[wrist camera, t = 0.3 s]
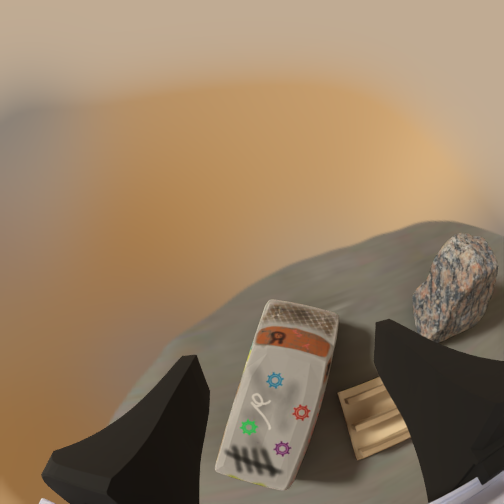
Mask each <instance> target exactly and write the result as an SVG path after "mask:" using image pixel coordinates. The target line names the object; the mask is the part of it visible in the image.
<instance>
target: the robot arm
mask: <svg viewBox="0 0 504 504" xmlns="http://www.w3.org/2000/svg"><path fill="white" fill-rule="evenodd" d="M374 363H375V366H376V368H377V371H378V373H379V376H380V378H381V381H382V382H383V384H384V386H385V388H386V390H387V391H388V393H389V395H390V397H391V398H392V400H393V402H394V404H395V405H396V407H397V409H398V411H399V412H400V414H401V416H402V418H403V420H404V422H405V424H406V426H407V428H408V431H409V433H410V436H411V439H412V441H413V444H414V447H415V450H416V453H417V456H418V459H419V463H420V466H421V470H422V474H423V478H424V482H425V487H426V492H427V497H428V504H504V361H498V360H491V359H486V358H481V357H477V356H473V355H469V354H466V353H463V352H459V351H456V350H454V349H451V348H448V347H446V346H443V345H441V344H439V343H436V342H434V341H432V340H430V339H428V338H426V337H424V336H422V335H420V334H418V333H416V332H414V331H412V330H410V329H408V328H406V327H405V326H403V325H401V324H399V323H397V322H395V321H393V320H390V319H387V320H383V321H379V322H376V329H375V350H374ZM209 403H210V390H209V387H208V385H207V382H206V380H205V377H204V374H203V372H202V369H201V366H200V363H199V361H198V358H197V355H189V356H182V357H181V358H180V359H179V360H178V361H177V362H176V363H175V365H174V366H173V367H172V368H171V369H170V370H169V371H168V373H167V374H166V375H165V376H164V377H163V378H162V379H161V380H160V382H159V383H158V384H157V385H156V386H155V387H154V388H153V389H152V390H151V391H150V392H149V393H148V394H147V395H146V396H145V397H144V398H143V399H142V400H141V401H140V402H139V403H138V404H137V405H136V406H134V407H133V408H132V409H131V410H130V411H128V412H127V413H126V414H125V415H123V416H122V417H121V418H119V419H118V420H117V421H115V422H113V423H112V424H110V425H109V426H107V427H106V428H104V429H103V430H101V431H100V432H98V433H96V434H94V435H92V436H90V437H88V438H86V439H84V440H82V441H80V442H77V443H75V444H72V445H70V446H67V447H64V448H62V449H59V450H56V451H53V453H52V455H51V457H50V459H49V461H48V463H47V465H46V467H45V469H44V470H43V472H42V474H41V475H42V478H43V480H44V482H45V483H46V484H47V485H48V486H49V487H50V488H51V489H52V490H54V491H55V492H56V493H57V494H58V495H60V496H61V497H62V498H63V499H64V500H66V501H67V502H68V503H70V504H199V478H200V461H201V454H202V448H203V443H204V437H205V432H206V426H207V421H208V415H209ZM39 504H55V503H53V502H51V501H49V500H46V499H44V498H42V499H41V501H40V503H39Z"/></svg>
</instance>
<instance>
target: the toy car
mask: <svg viewBox="0 0 504 504" xmlns="http://www.w3.org/2000/svg"><path fill="white" fill-rule="evenodd" d="M338 325H339V315H338V314H337V313H333V312H330V311H326V310H323V309H319V308H315V307H311V306H307V305H302V304H297V303H292V302H287V301H280V300H274V299H271V300H269V301H268V302H267V304H266V305H265V308H264V311H263V314H262V317H261V320H260V323H259V326H258V328H257V331H256V334H255V337H254V340H253V343H252V347H251V350H250V353H249V356H248V359H247V362H246V365H245V368H244V371H243V374H242V377H241V381H240V384H239V387H238V390H237V393H236V396H235V400H234V403H233V406H232V409H231V413H230V416H229V419H228V422H227V425H226V429H225V432H224V436H223V440H222V443H221V447H220V450H219V454H218V457H217V461H216V465H215V471H217V472H218V473H221V474H224V475H227V476H229V477H233V478H236V479H239V480H243V481H246V482H250V483H254V484H257V485H261V486H264V487H268V488H273V489H277V490H287V489H289V488H290V487H291V485H292V484H293V482H294V480H295V477H296V475H297V473H298V470H299V468H300V465H301V463H302V461H303V458H304V456H305V453H306V451H307V448H308V445H309V443H310V440H311V437H312V433H313V430H314V427H315V424H316V421H317V418H318V415H319V411H320V408H321V404H322V400H323V396H324V392H325V389H326V385H327V380H328V376H329V372H330V367H331V362H332V358H333V352H334V348H335V344H336V340H337V332H338Z"/></svg>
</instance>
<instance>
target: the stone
mask: <svg viewBox="0 0 504 504" xmlns="http://www.w3.org/2000/svg"><path fill="white" fill-rule="evenodd" d="M497 272H498V263H497V260H496V257H495V255H494V252H493V251H492V249H491V248H490V246H489V244H488V242H487V241H486V240H485V239H484V238H482V237H479V236H478V237H474V236H471V235H469V234H467V233H458V234H455V235H454V236H453V237H452V238H451V239H449V240H448V241H447V242H446V243H445V244H444V245H443V246H442V248H441V250H440V251H439V253H438V254H437V255H436V257H435V258H434V261H433V263H432V265H431V271H430V274H429V276H428V278H427V280H426V281H425V282H424V283H422V284H421V285H420V286H419V287H418V288H417V289H416V291H415V292H414V294H413V296H412V298H413V315H414V318H415V326H416V328H417V332H418V334H420V335H422V336H424V337H426V338H428V339H430V340H432V341H434V342H436V343H439V342H441V341H445V340H446V339H448V338H450V337H452V336H454V335H457V334H459V333H461V332H463V331H464V330H467V329H470V328H472V327H473V326H475V325H476V324H477V323H478V322H479V320H480V319H481V318H482V316H484V314H485V311H486V309H487V306H488V302H489V299H491V296H492V293H493V291H494V284H495V282H496V276H497Z"/></svg>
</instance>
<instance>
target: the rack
mask: <svg viewBox="0 0 504 504" xmlns="http://www.w3.org/2000/svg"><path fill="white" fill-rule="evenodd" d="M337 394H338V397H339V400H340V404H341V407H342V410H343V414H344V417H345V421H346V424H347V428H348V431H349V435H350V438H351V442H352V446H353V449H354V453H355V457H356V459H357V460H360V459H363V458H365V457H368V456H370V455H373V454H375V453H378V452H380V451H382V450H385V449H387V448H389V447H391V446H394V445H396V444H398V443H400V442H402V441H404V440H406V439H408V438H410V437H411V436H410V433H409V431H408V428H407V426H406V424H405V422H404V420H403V418H402V416H401V414H400V412H399V411H398V409H397V407H396V405H395V404H394V402H393V400H392V398H391V397H390V395H389V393H388V391H387V390H386V388H385V386H384V384H383V382H382V381H381V378H380V377H377V378H375V379H372V380H370V381H368V382H365V383H363V384H360V385H357V386H355V387H352V388H349V389H347V390H344V391H341V392H338V393H337Z"/></svg>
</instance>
